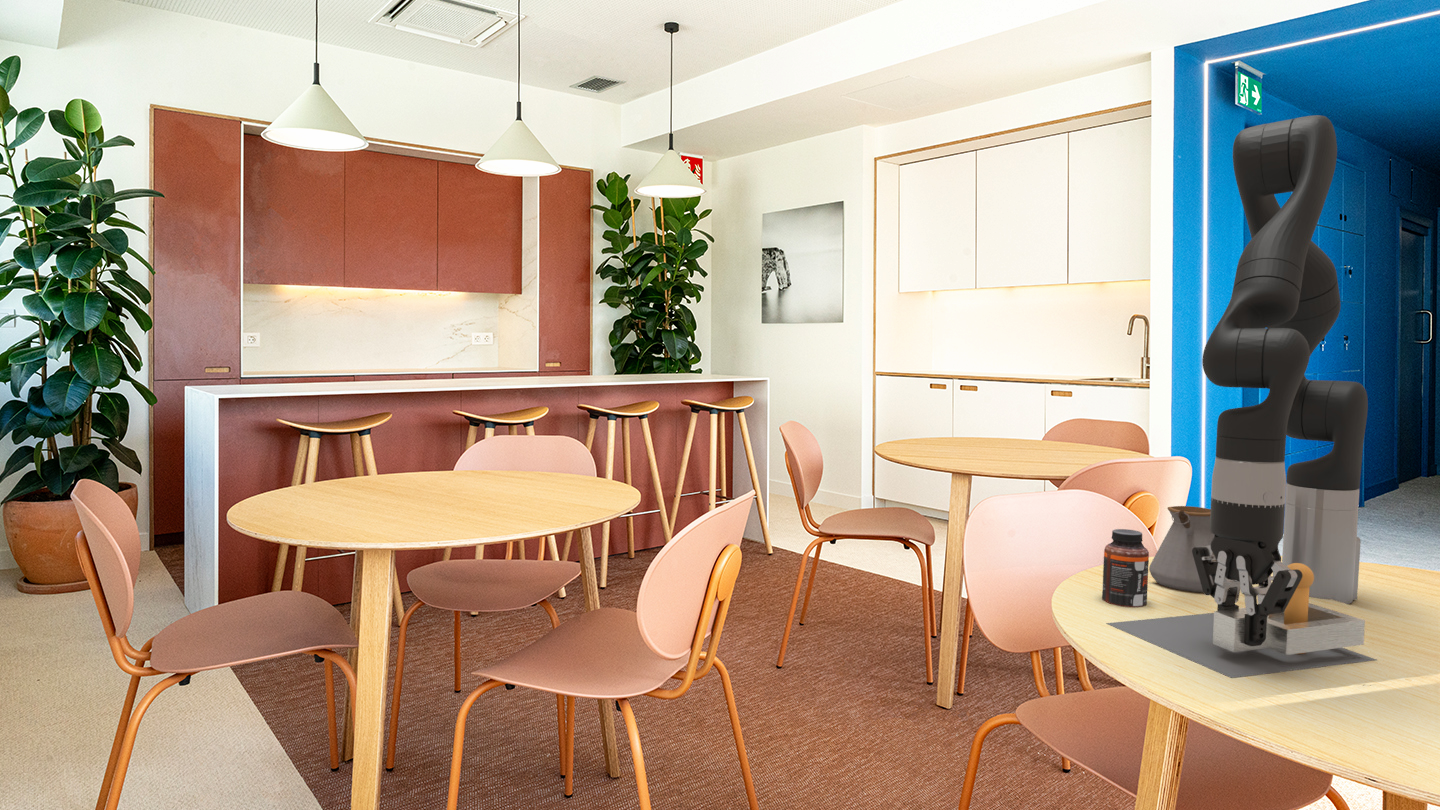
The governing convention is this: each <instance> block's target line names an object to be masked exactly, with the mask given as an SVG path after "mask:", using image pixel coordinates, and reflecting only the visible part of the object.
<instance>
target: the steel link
mask: <svg viewBox="0 0 1440 810" xmlns="http://www.w3.org/2000/svg"><path fill="white" fill-rule="evenodd" d="M1284 612H1285V611H1284ZM1284 612H1283V613H1275V614H1269V615H1268V617H1267V628H1266V639H1265V641H1264V642H1263V643H1262V644H1261V645H1259V646H1248V645H1246V644H1245V643H1244V630H1245V614H1247V612H1246V607H1242V608H1241V607H1239V609H1233V610H1222V611H1217V610H1214V611H1213V613H1214V629H1213V644H1214V645H1217V646H1219V647H1222V648H1224V649H1227V650H1229V651H1232V652H1240V651H1248V650H1255V649H1263V648H1269V649H1271V650H1274V651H1277V652H1279V653H1282V654H1285V655H1291V654H1298V653H1306V652H1313V651H1320V650H1328V649H1335V648H1349V647H1356V646H1363V645H1364V644H1365V642H1364V641H1365V625H1366V624H1365V623H1366V619H1362V618H1358V617H1355V616H1353V615H1349V614H1346V613H1342V612H1339V611H1336V610H1333V609H1329V608H1326V607H1323V606H1320V605H1316V604H1312V603H1310V602H1309V605H1308V622H1303V623H1295V624H1287V625H1285V624H1284Z"/></svg>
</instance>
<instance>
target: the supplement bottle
mask: <svg viewBox="0 0 1440 810" xmlns="http://www.w3.org/2000/svg"><path fill="white" fill-rule="evenodd" d="M1111 540H1112V541H1111V542H1110V543H1108V544H1106V545H1105V547H1104V551H1103V565H1102V566H1103V567H1102V568H1103V570H1102V592H1101V593H1102V594H1101V595H1102V596H1101V598H1102V601H1103V602H1105V603H1107V604H1110V605H1112V606H1113V605H1114V606H1118V607H1123V608H1124V607H1125V608H1142V607H1146V606H1147V604H1148V584H1149V583H1148V581H1149V566H1150V562H1149V561H1150V560H1149V558H1150V557H1149V556H1150V555H1149V554H1150V552H1149V550H1148V548H1146V547H1145V546H1144V544H1143V533H1142V531H1139V530H1135V529H1126V528H1117V529H1116V528H1115V529H1112V531H1111Z"/></svg>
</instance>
